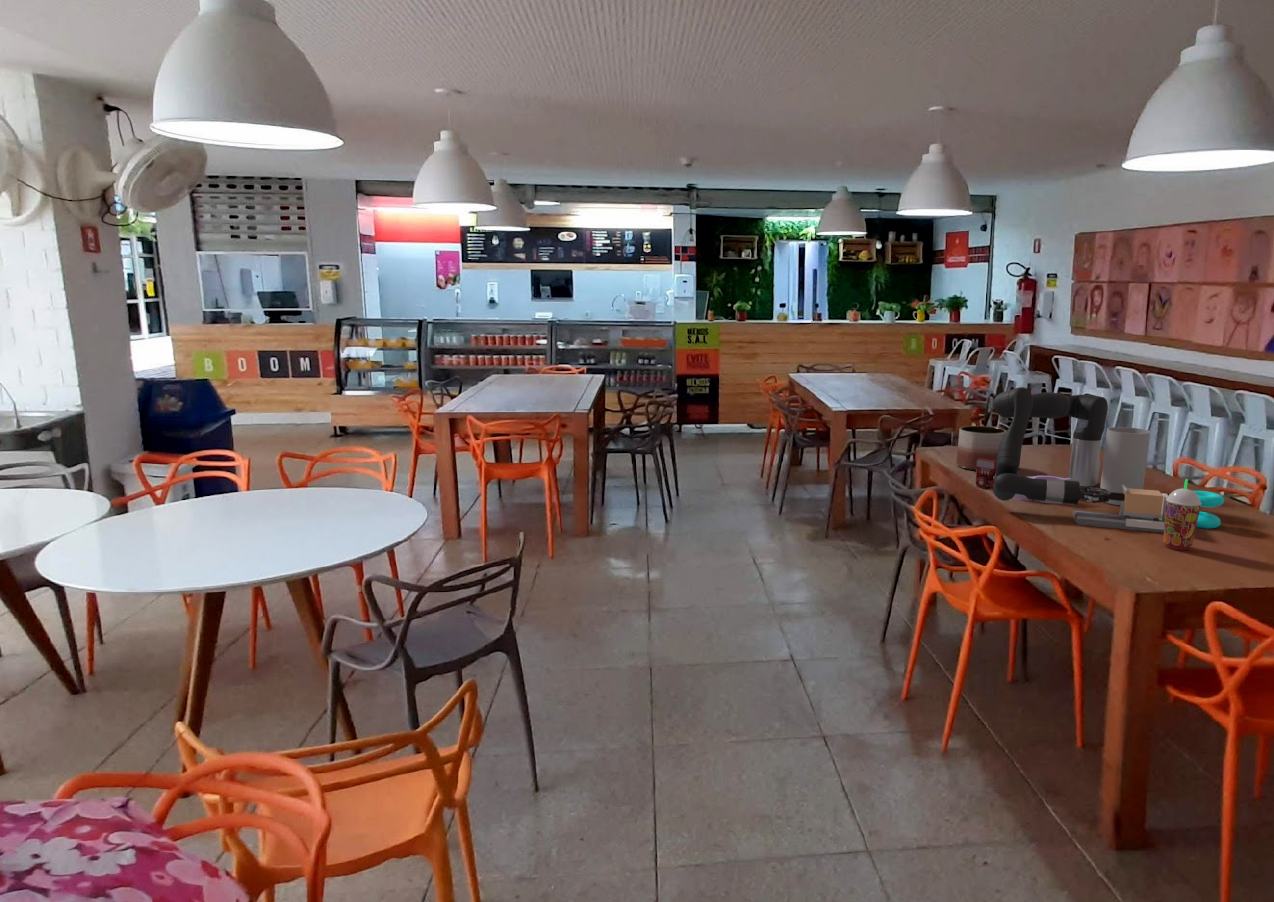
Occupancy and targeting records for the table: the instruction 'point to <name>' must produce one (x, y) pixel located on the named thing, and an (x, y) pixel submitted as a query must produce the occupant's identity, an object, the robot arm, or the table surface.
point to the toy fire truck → (985, 472)
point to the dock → (1121, 520)
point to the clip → (1023, 497)
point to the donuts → (1208, 501)
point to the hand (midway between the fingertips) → (1124, 497)
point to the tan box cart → (1141, 503)
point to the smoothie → (1181, 518)
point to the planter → (978, 445)
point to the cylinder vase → (1124, 459)
